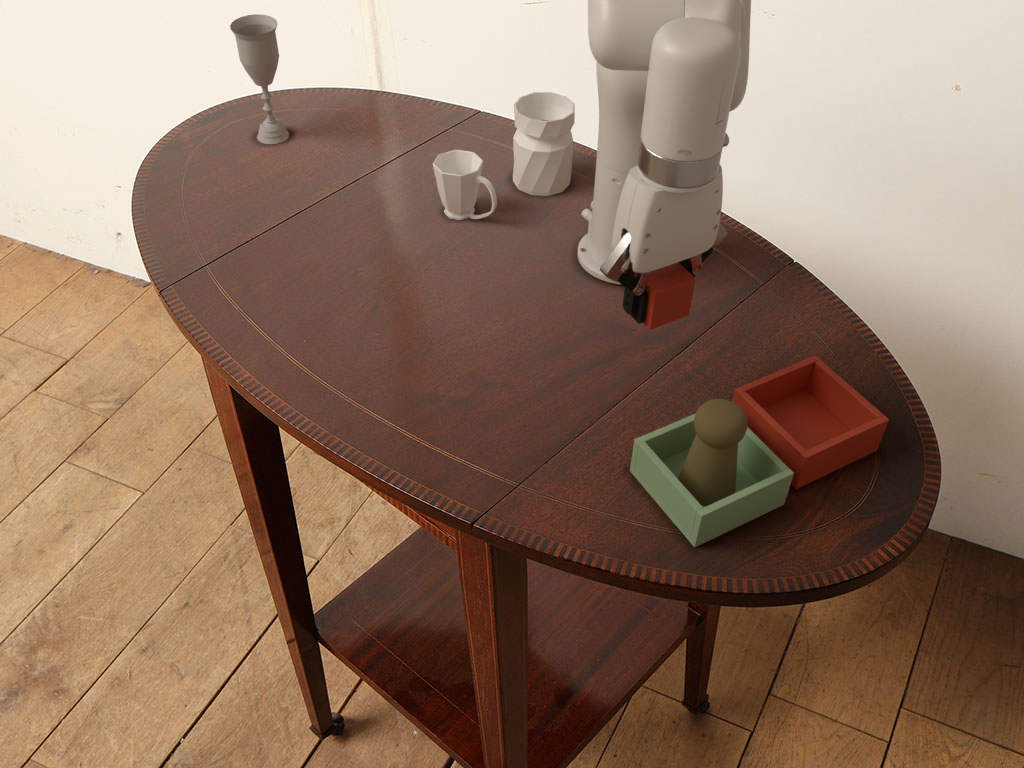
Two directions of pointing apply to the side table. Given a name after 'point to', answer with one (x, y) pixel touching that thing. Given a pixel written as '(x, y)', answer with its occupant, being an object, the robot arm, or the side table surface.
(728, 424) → the olive brown pawn
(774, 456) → the sage bin
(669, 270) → the rust block
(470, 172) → the cup
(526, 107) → the vase
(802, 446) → the rust bin
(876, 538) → the side table surface
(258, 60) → the chalice
